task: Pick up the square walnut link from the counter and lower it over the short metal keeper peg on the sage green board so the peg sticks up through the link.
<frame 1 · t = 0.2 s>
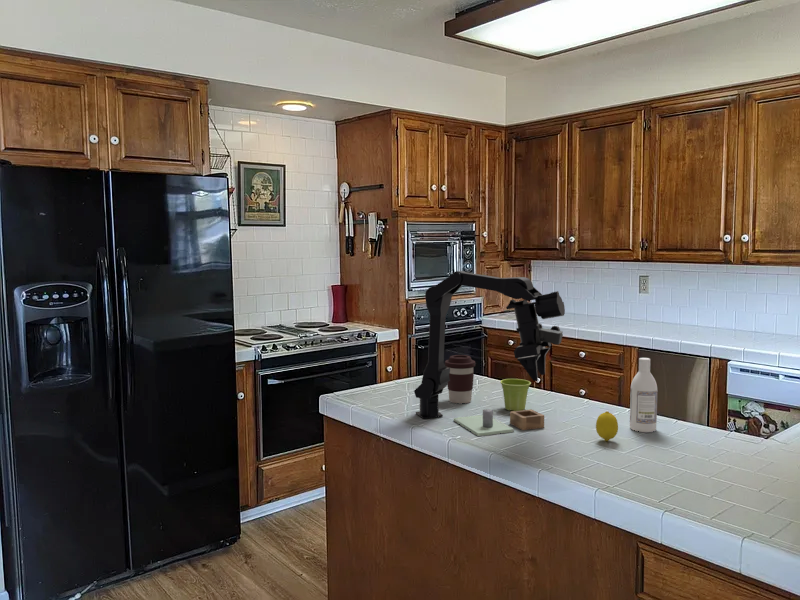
hand: (539, 377, 175), 15 cm above the countertop, tool pointing down, fingers open, 9 cm apart
coffee cup: (460, 401, 210), on the countertop
link: (526, 425, 182), on the countertop
bath foam: (642, 430, 177), on the countertop
plant pot: (515, 409, 200), on the countertop
keeper board: (482, 426, 182), on the countertop
lemon: (606, 441, 167), on the countertop
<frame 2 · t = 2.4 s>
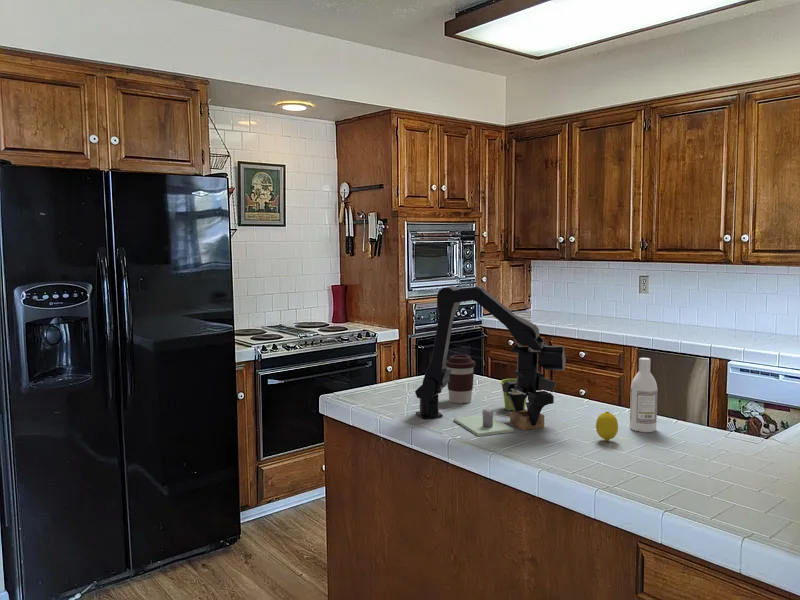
hand: (526, 421, 182), 1 cm above the countertop, tool pointing down, fingers closed on link, 7 cm apart
link: (526, 425, 182), on the countertop, touching gripper
everything else where it was.
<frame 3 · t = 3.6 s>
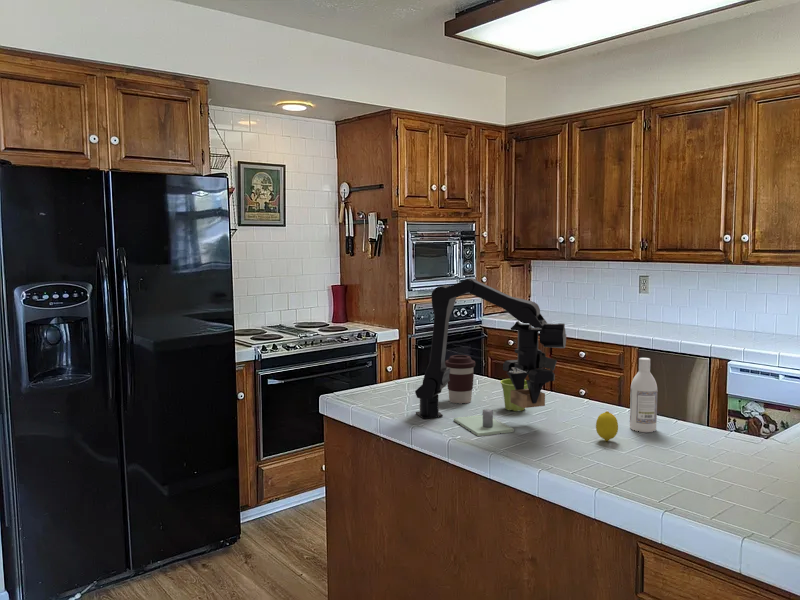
hand: (527, 400, 181), 7 cm above the countertop, tool pointing down, fingers closed on link, 7 cm apart
link: (527, 404, 181), point 6 cm above the countertop, touching gripper
everything else where it was.
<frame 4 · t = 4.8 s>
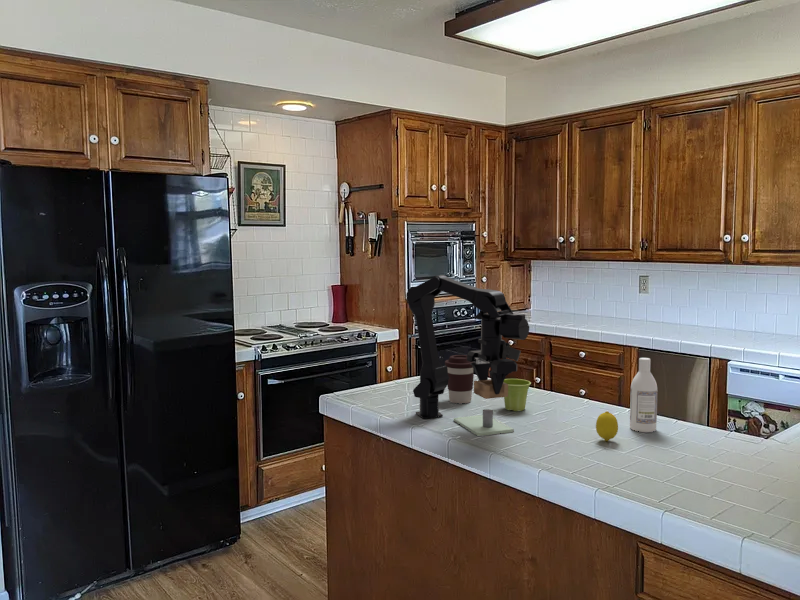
hand: (490, 391, 178), 11 cm above the countertop, tool pointing down, fingers closed on link, 7 cm apart
link: (490, 394, 178), point 10 cm above the countertop, touching gripper
everything else where it was.
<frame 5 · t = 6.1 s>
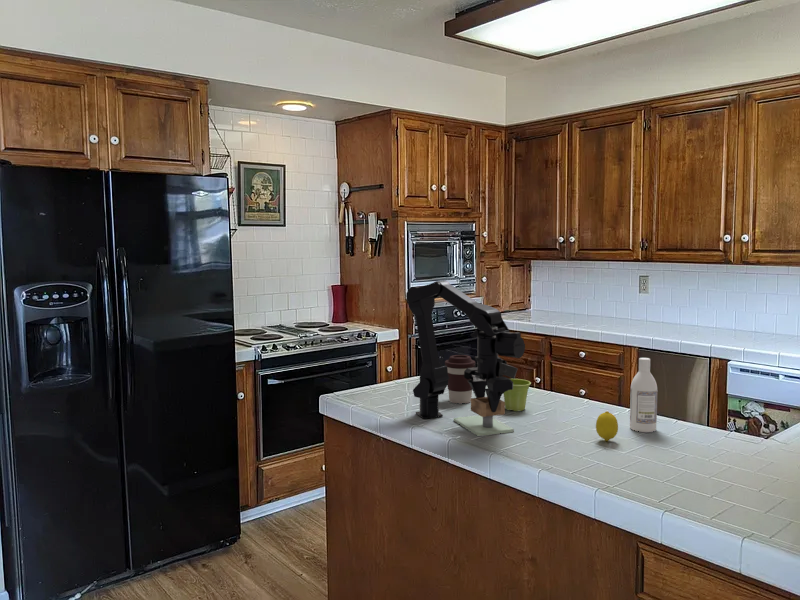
hand: (487, 408, 178), 6 cm above the countertop, tool pointing down, fingers closed on link, 7 cm apart
link: (487, 412, 179), point 5 cm above the countertop, touching gripper
everything else where it was.
when the fingers open (3 cm above the countertop, at t = 7.3 s): link drops 1 cm, resting on keeper board.
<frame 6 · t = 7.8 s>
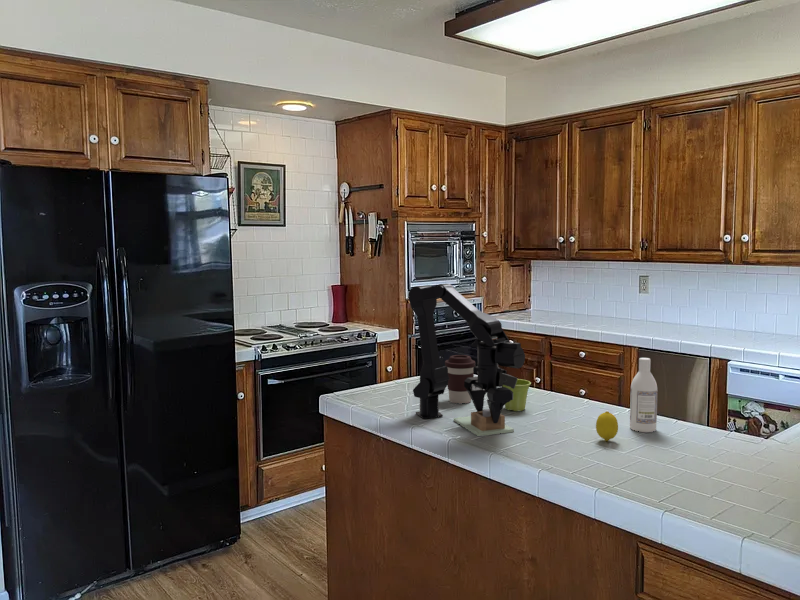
hand: (487, 418, 179), 3 cm above the countertop, tool pointing down, fingers open, 9 cm apart
link: (487, 426, 179), point 1 cm above the countertop, touching keeper board
everything else where it was.
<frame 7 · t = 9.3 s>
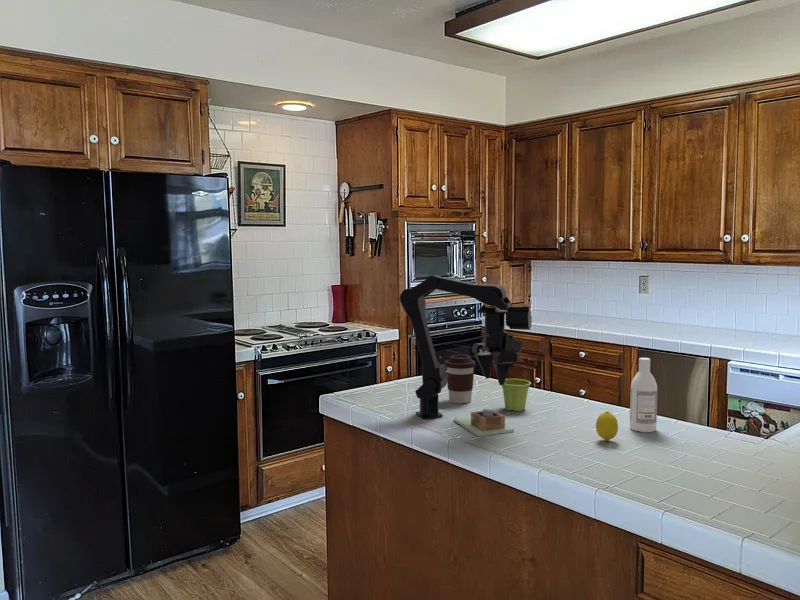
hand: (494, 381, 185), 12 cm above the countertop, tool pointing down, fingers open, 9 cm apart
nothing on the countertop moved.
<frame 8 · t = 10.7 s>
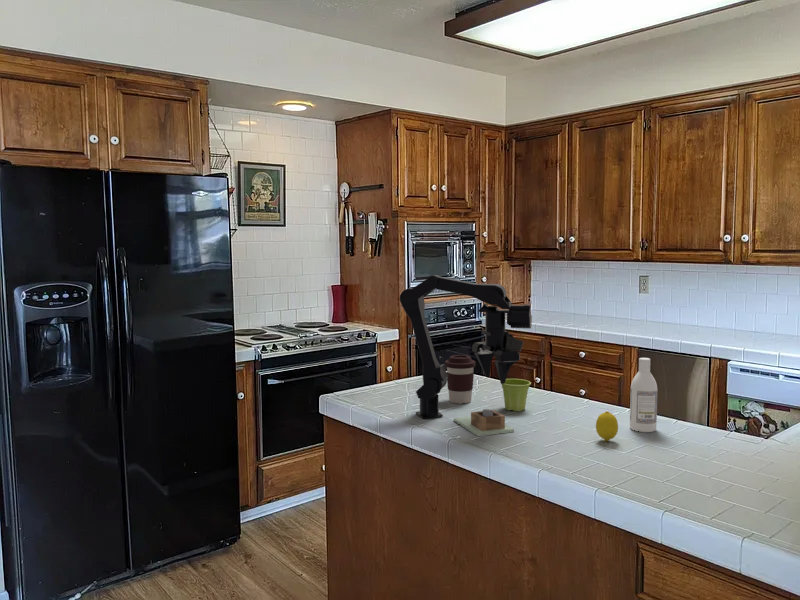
hand: (495, 380, 186), 12 cm above the countertop, tool pointing down, fingers open, 9 cm apart
nothing on the countertop moved.
at the end: link 0.0 cm from the target spot on the keeper board, point 0.8 cm above the keeper board's base; the gripper is holding nothing; link tilted 0° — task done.
